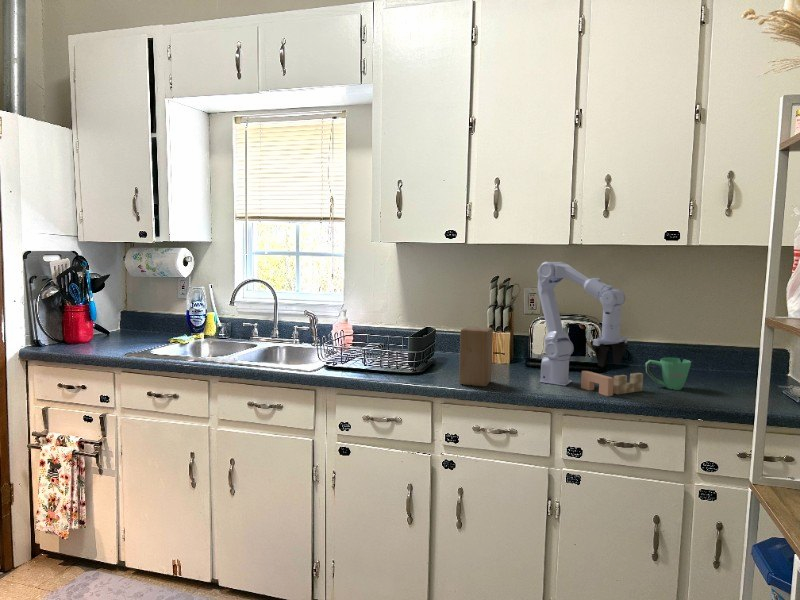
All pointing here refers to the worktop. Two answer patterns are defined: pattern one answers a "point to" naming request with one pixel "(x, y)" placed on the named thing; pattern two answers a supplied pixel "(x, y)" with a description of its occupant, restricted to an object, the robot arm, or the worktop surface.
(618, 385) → the tan notched block
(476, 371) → the wooden block
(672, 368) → the mug
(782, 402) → the worktop surface
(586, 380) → the tan flat notched board
